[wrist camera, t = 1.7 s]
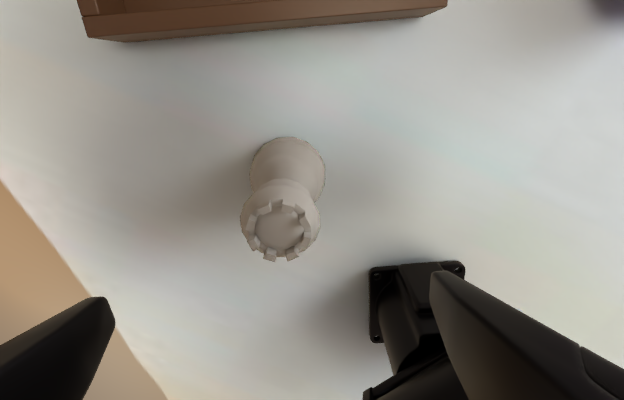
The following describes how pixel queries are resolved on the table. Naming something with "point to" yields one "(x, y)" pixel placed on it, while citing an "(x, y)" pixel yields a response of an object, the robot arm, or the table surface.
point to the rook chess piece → (283, 198)
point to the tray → (233, 16)
